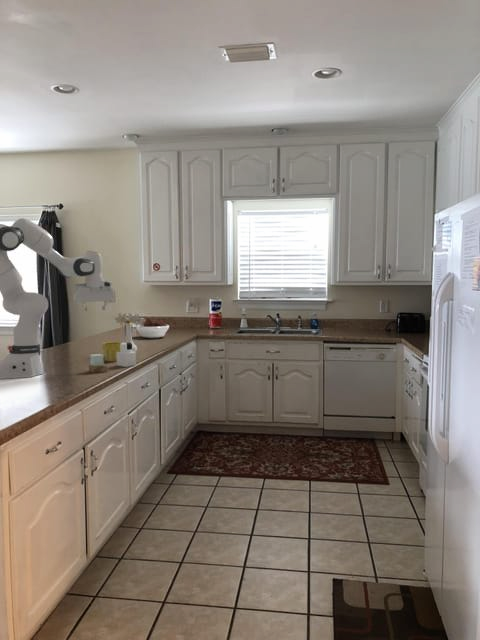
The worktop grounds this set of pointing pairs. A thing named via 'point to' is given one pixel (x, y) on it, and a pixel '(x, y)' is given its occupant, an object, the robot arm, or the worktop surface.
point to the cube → (96, 359)
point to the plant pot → (111, 350)
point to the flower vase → (130, 326)
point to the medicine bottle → (126, 355)
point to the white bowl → (153, 328)
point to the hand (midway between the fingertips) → (94, 310)
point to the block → (98, 368)
